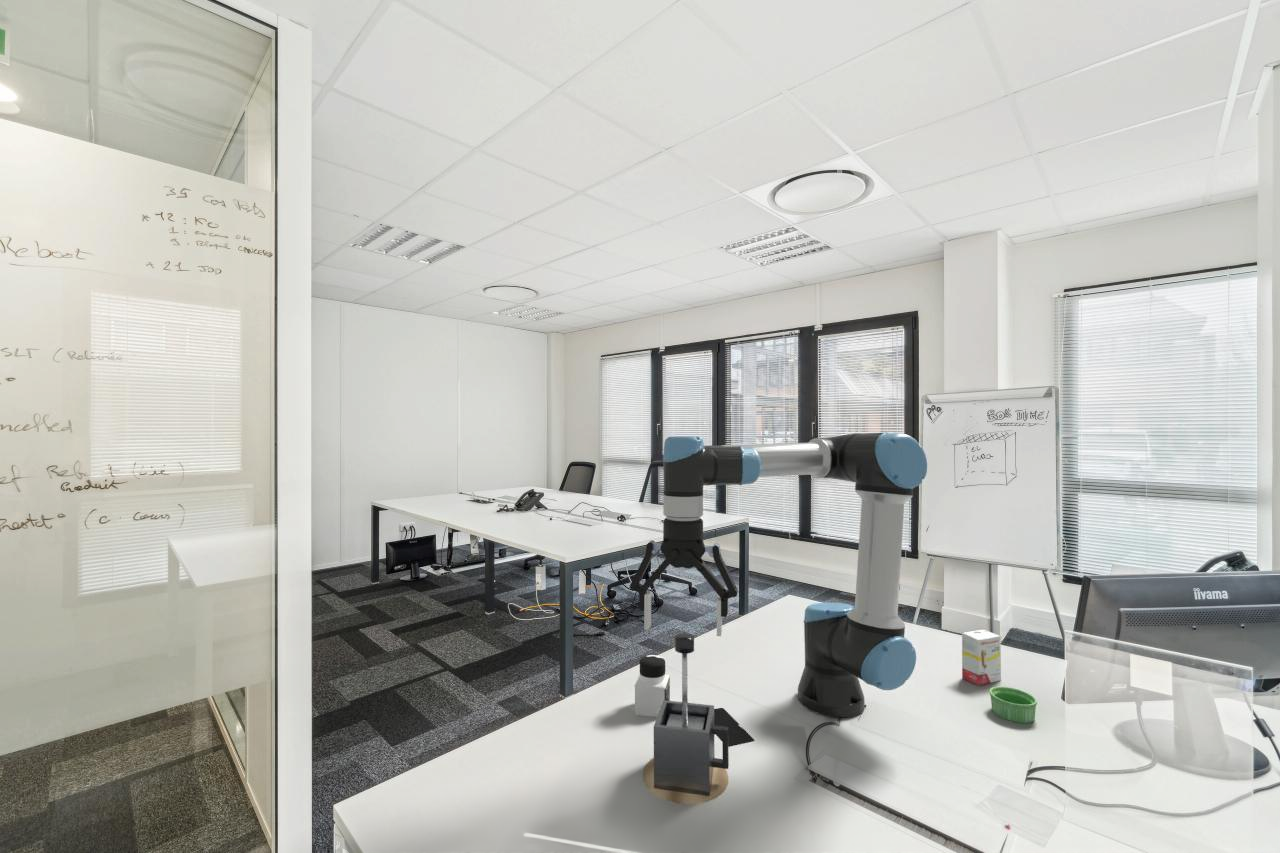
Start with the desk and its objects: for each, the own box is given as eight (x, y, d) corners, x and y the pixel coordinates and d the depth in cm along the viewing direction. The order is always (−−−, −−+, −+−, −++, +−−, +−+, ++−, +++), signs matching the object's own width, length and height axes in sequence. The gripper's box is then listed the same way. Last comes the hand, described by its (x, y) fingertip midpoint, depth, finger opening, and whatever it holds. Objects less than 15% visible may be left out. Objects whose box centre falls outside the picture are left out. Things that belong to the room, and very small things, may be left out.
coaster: (731, 757, 106) (731, 755, 106) (725, 812, 91) (725, 810, 91) (652, 747, 110) (652, 745, 110) (633, 798, 94) (633, 796, 94)
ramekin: (980, 707, 126) (979, 688, 126) (1012, 703, 128) (1011, 684, 128) (1013, 727, 117) (1013, 707, 117) (1047, 722, 119) (1047, 702, 119)
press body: (730, 764, 103) (729, 707, 104) (726, 798, 94) (726, 735, 94) (663, 756, 106) (663, 700, 107) (653, 788, 97) (653, 726, 97)
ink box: (978, 686, 136) (978, 639, 136) (961, 678, 141) (960, 633, 141) (1002, 681, 139) (1001, 635, 139) (984, 673, 144) (983, 628, 144)
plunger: (705, 720, 103) (704, 631, 103) (701, 740, 96) (700, 645, 97) (670, 716, 105) (669, 629, 105) (663, 735, 98) (663, 642, 98)
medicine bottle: (665, 719, 121) (665, 665, 121) (634, 716, 122) (634, 663, 123) (670, 704, 128) (669, 653, 128) (640, 701, 129) (640, 651, 130)
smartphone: (723, 707, 126) (756, 741, 111) (723, 710, 126) (756, 745, 111) (696, 711, 123) (726, 746, 109) (696, 715, 123) (726, 750, 109)
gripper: (750, 517, 102) (750, 629, 102) (624, 512, 108) (624, 618, 107) (749, 523, 95) (750, 643, 94) (614, 518, 100) (613, 632, 100)
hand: (682, 630), depth 101 cm, fingers open, 13 cm apart
